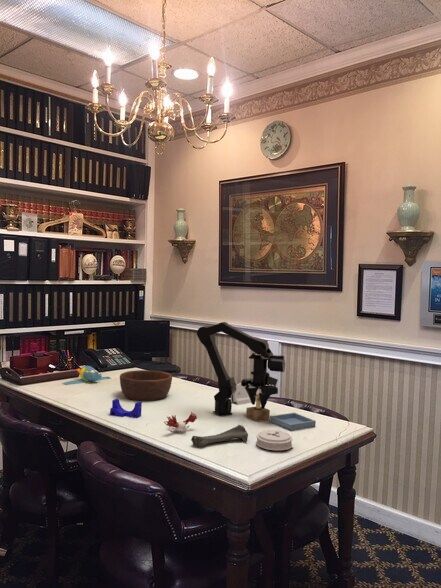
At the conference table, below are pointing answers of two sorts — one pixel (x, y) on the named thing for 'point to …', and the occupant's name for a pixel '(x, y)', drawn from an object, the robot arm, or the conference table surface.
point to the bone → (221, 436)
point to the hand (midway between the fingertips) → (258, 406)
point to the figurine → (179, 423)
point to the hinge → (241, 395)
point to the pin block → (257, 414)
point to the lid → (274, 440)
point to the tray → (292, 421)
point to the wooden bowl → (145, 384)
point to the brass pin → (257, 402)
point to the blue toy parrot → (87, 376)
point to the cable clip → (120, 412)
